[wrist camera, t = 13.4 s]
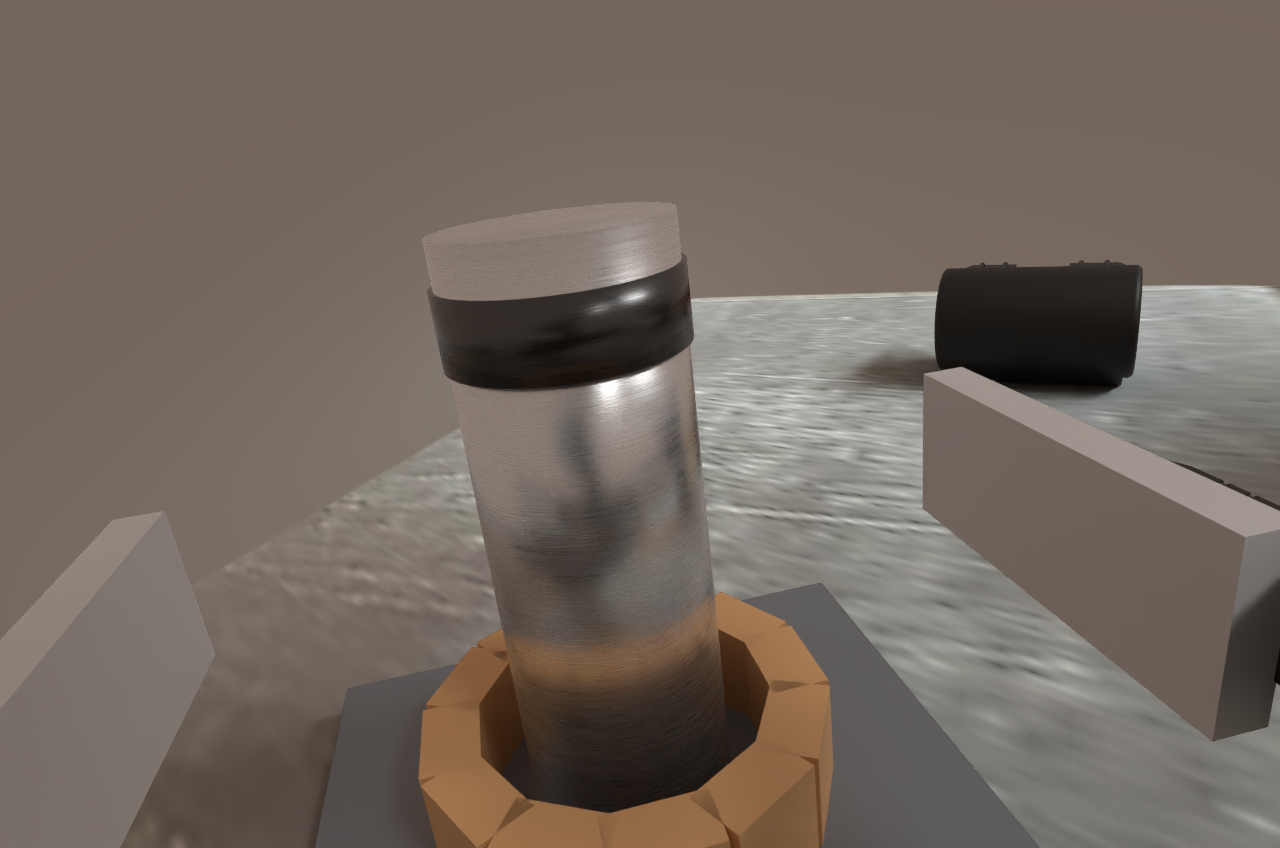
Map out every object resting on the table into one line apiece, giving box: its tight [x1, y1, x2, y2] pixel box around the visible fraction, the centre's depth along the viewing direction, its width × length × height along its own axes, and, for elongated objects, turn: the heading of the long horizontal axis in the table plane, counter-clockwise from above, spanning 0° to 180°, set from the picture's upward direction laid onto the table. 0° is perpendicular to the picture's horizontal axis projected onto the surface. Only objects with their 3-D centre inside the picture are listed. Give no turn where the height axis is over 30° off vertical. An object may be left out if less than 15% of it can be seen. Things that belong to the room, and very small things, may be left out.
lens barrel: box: [422, 202, 731, 813], centre depth 18 cm, size 5×5×14 cm
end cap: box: [935, 260, 1143, 386], centre depth 47 cm, size 10×7×7 cm
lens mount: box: [315, 583, 1039, 848], centre depth 21 cm, size 16×13×4 cm
